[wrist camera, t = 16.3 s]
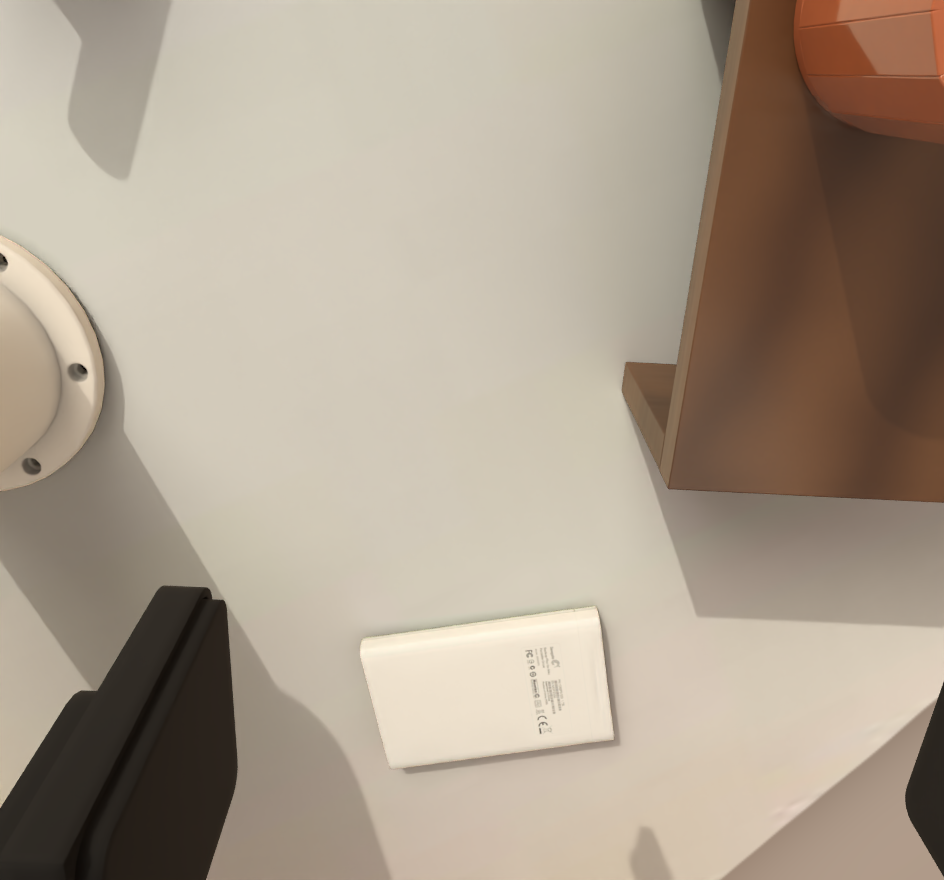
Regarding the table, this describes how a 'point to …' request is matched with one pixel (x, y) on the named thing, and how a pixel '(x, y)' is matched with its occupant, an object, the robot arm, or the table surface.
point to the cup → (875, 63)
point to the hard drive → (489, 687)
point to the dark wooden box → (804, 299)
